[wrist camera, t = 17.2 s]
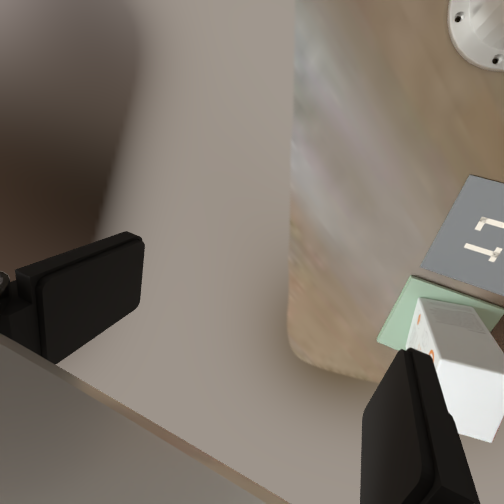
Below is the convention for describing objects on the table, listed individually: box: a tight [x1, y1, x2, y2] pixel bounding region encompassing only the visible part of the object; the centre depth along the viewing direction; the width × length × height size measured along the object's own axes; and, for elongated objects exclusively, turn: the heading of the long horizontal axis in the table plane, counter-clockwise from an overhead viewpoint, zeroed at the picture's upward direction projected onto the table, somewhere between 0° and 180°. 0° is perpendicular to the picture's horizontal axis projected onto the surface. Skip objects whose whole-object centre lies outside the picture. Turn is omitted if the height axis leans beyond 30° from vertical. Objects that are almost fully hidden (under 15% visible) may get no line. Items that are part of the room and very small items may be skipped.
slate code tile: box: [420, 175, 504, 296], centre depth 34 cm, size 12×10×1 cm
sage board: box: [377, 275, 504, 351], centre depth 39 cm, size 11×11×1 cm
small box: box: [406, 297, 504, 443], centre depth 33 cm, size 8×6×13 cm
